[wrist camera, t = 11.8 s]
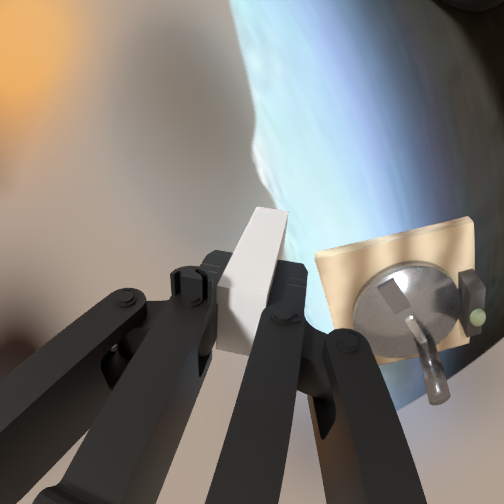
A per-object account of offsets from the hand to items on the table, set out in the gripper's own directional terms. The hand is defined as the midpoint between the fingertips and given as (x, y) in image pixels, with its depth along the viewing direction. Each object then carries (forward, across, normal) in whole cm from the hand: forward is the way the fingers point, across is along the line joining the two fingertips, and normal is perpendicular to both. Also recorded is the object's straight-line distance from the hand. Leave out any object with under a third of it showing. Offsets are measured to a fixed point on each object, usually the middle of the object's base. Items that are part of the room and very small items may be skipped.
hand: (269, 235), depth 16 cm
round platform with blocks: (+22, +19, -19) cm, 35 cm away
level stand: (+24, +19, -19) cm, 36 cm away
